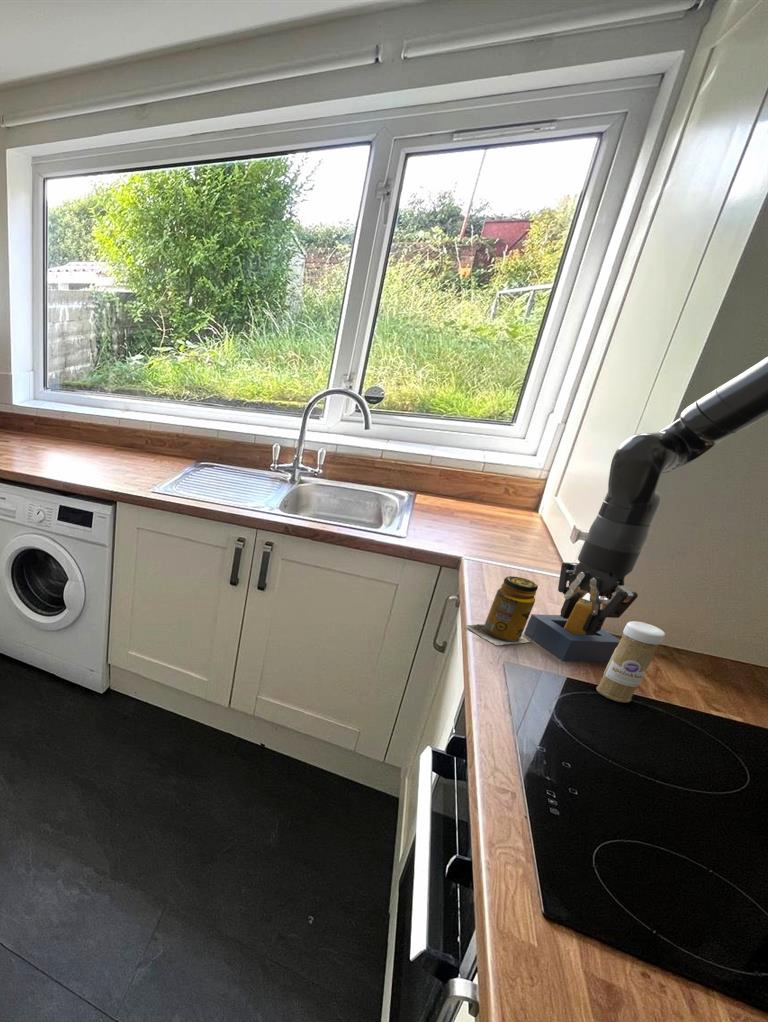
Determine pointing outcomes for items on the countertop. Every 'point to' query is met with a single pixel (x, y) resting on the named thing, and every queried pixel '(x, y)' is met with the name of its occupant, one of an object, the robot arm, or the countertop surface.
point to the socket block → (570, 640)
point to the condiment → (508, 612)
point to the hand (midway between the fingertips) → (577, 624)
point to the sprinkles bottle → (630, 661)
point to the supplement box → (578, 617)
